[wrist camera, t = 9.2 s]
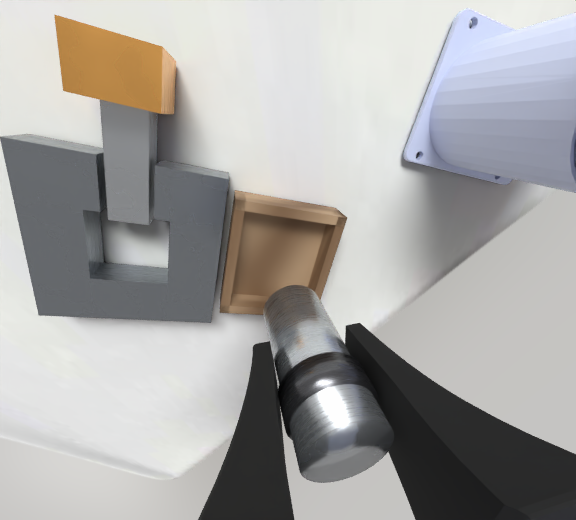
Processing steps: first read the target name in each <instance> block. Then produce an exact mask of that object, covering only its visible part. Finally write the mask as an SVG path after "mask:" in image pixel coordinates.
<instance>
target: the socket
mask: <svg viewBox="0 0 576 520" xmlns="http://www.w3.org/2000/svg"><path fill="white" fill-rule="evenodd" d="M0 140H1V144H2V149H3V153H4V158H5V163H6V167H7V172H8V176H9V181H10V185H11V190H12V195H13V199H14V204H15V208H16V213H17V218H18V222H19V227H20V231H21V236H22V240H23V245H24V250H25V254H26V259H27V263H28V268H29V273H30V277H31V282H32V286H33V291H34V295H35V300H36V305H37V309H38V314H39V315H45V316H68V317H91V318H115V319H138V320H161V321H185V322H208V323H211V318H212V310H213V302H214V294H215V286H216V278H217V270H218V262H219V254H220V246H221V238H222V230H223V222H224V214H225V206H226V198H227V190H228V182H229V173H228V172H223V171H218V170H213V169H208V168H202V167H197V166H192V165H187V164H182V163H177V162H171V161H166V160H162V161H161V162H159V163H158V164H156V165H155V193H154V219H155V220H162V221H170V231H169V259H168V268H159V267H149V266H138V265H127V264H116V263H105V262H104V258H103V246H102V234H101V221H100V212H101V211H102V210H104V209H105V208H106V207H107V196H106V181H105V167H104V152H103V148H99V147H94V146H88V145H83V144H78V143H73V142H68V141H62V140H57V139H52V138H47V137H42V136H36V135H31V134H23V135H12V136H1V137H0Z"/></svg>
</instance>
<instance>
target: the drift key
mask: <svg viewBox="0 0 576 520" xmlns="http://www.w3.org/2000/svg"><path fill="white" fill-rule="evenodd" d="M55 24H56V32H57V41H58V49H59V58H60V66H61V75H62V83H63V91H66V92H71V93H75V94H79V95H83V96H88V97H92V98H96V99H100V108H101V123H102V137H103V152H104V167H105V181H106V196H107V211H108V220H112V221H120V222H127V223H135V224H143V225H149V224H150V223H151V222H152V220H153V219H154V193H155V165H156V164H157V113H160V114H174V102H175V75H176V61H175V60H174V58H173V57H172V56H171V55H170V54H169V53H168V52H167V51H166V50H165V49H164V48H163V47H161V46H158V45H155V44H151V43H148V42H145V41H141V40H138V39H134V38H131V37H128V36H124V35H121V34H118V33H114V32H111V31H108V30H104V29H101V28H98V27H94V26H91V25H88V24H84V23H81V22H77V21H74V20H71V19H67V18H64V17H61V16H57V15H55Z"/></svg>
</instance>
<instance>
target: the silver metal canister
mask: <svg viewBox="0 0 576 520" xmlns="http://www.w3.org/2000/svg"><path fill="white" fill-rule="evenodd" d="M263 315H264V319H265V324H266V328H267V332H268V337H269V341H270V344H271V349H272V354H273V358H274V362H275V367H276V371H277V375H278V380H279V384H280V385H279V388H278V398H279V403H280V407H281V412H282V416H283V421H284V426H285V430H286V433H287V435H288V436H289V437H290V438H291V439H292V440H293V444H294V448H295V453H296V457H297V461H298V465H299V470H300V473H301V475H302V476H303V477H304V478H306V479H307V480H310V481H313V482H321V483H322V482H323V483H325V482H334V481H339V480H343V479H346V478H349V477H352V476H354V475H357V474H359V473H361V472H363V471H365V470H366V469H368V468H370V467H371V466H373V465H374V464H375V463H377V462H378V461H379V460H380V459H382V458H383V457H384V455H386V453H387V452H388V451H389V449H390V448H391V446H392V444H393V441H394V432H393V430H392V428H391V426H390V424H389V422H388V421H387V419H386V417H385V415H384V414H383V412H382V410H381V408H380V406H379V405H378V394H377V392H376V390H375V388H374V387H373V385H372V383H371V382H370V380H369V378H368V376H367V375H366V373H365V371H364V370H363V368H362V366H361V364H360V363H359V361H358V360H357V359H356V358H355V357H353V356H351V355H350V353H349V351H348V349H347V348H346V346H345V344H344V342H343V341H342V339H341V337H340V335H339V333H338V332H337V330H336V328H335V326H334V325H333V323H332V321H331V319H330V317H329V316H328V314H327V312H326V310H325V309H324V307H323V305H322V303H321V301H320V300H319V298H318V296H317V295H316V293H315V292H314V291H313V290H312V289H310V288H308V287H306V286H302V285H290V286H286V287H283V288H281V289H279V290H277V291H276V292H275V293H273V294H272V295H271V296H270V297H269V299H268V300H267V302H266V303H265V306H264V311H263Z"/></svg>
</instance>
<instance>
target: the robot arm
mask: <svg viewBox="0 0 576 520" xmlns="http://www.w3.org/2000/svg"><path fill="white" fill-rule="evenodd" d="M470 20H471V21H472V27H471V29H470V28H469V22H470ZM417 152H419V153H420V154H419V157H418V158H416V154H417ZM403 157H404V159H405V160H406V161H409V162H413V163H417V164H421V165H425V166H429V167H434V168H438V169H442V170H446V171H450V172H454V173H458V174H462V175H466V176H470V177H474V178H478V179H482V180H486V181H490V182H494V183H498V184H502V185H507V184H509V183H510V182H511V181H512V180H513V179H515V180H519V181H524V182H529V183H533V184H538V185H542V186H547V187H551V188H556V189H560V190H565V191H569V192H574V193H576V12H575V13H572V14H568V15H565V16H561V17H558V18H555V19H551V20H548V21H545V22H541V23H538V24H535V25H531V26H528V27H525V28H521V29H518V30H515V29H513V28H511V27H508V26H506V25H504V24H502V23H500V22H498V21H496V20H493V19H491V18H489V17H487V16H485V15H483V14H481V13H479V12H476V11H474V10H472V9H469V8H467V9H464V10H462V11H460V12H459V13H458V14H457V15H456V17H455V19H454V22H453V24H452V27H451V29H450V32H449V35H448V37H447V40H446V42H445V45H444V48H443V50H442V53H441V56H440V58H439V61H438V63H437V66H436V69H435V71H434V74H433V76H432V79H431V82H430V84H429V87H428V90H427V92H426V95H425V97H424V100H423V103H422V105H421V108H420V111H419V113H418V116H417V118H416V121H415V124H414V126H413V129H412V131H411V134H410V137H409V139H408V142H407V145H406V147H405V150H404V153H403ZM495 175H496V176H495ZM345 346H346V348H347V349H348V351H349V353H350V355H351V356H353V357H355V358H356V359H357V360H358V361H359V363H360V364H361V366H362V368H363V370H364V371H365V373H366V375H367V376H368V378H369V380H370V382H371V383H372V385H373V387H374V388H375V390H376V392H377V394H378V405H379V406H380V408H381V410H382V412H383V414H384V415H385V417H386V419H387V421H388V422H389V424H390V426H391V428H392V430H393V432H394V441H393V444H392V446H391V448H390V449H389V451H388V452H389V454H390V457H391V459H392V461H393V464H394V466H395V468H396V471H397V473H398V476H399V478H400V481H401V483H402V486H403V488H404V491H405V493H406V496H407V498H408V501H409V504H410V506H411V509H412V511H413V514H414V517H415V519H416V520H576V454H574V453H571V452H569V451H567V450H564V449H562V448H560V447H558V446H555V445H553V444H551V443H548V442H546V441H544V440H541V439H539V438H537V437H535V436H532V435H530V434H528V433H526V432H524V431H522V430H520V429H518V428H516V427H513V426H511V425H509V424H507V423H505V422H503V421H501V420H499V419H497V418H495V417H494V416H492V415H490V414H488V413H486V412H484V411H482V410H481V409H479V408H477V407H475V406H473V405H472V404H470V403H468V402H466V401H464V400H463V399H461V398H459V397H457V396H456V395H454V394H453V393H451V392H449V391H448V390H446V389H445V388H443V387H442V386H440V385H438V384H437V383H435V382H434V381H432V380H431V379H429V378H428V377H427V376H425V375H423V374H422V373H421V372H420V371H418V370H417V369H415V368H414V367H413V366H411V365H410V364H408V363H407V362H406V361H405V360H403V359H402V358H401V357H400V356H398V355H397V354H396V353H395V352H393V351H392V350H391V349H390V348H388V347H387V346H386V345H385V344H384V343H382V342H381V341H380V340H379V339H378V338H376V337H375V336H374V335H373V334H372V333H371V332H370V331H368V330H367V329H366V328H365V327H364V326H363V325H361V324H360V323H357V324H352V325H347V326H346V338H345ZM198 520H294V515H293V509H292V504H291V497H290V491H289V485H288V479H287V473H286V465H285V455H284V444H283V433H282V422H281V411H280V403H279V398H278V387H277V380H276V373H275V367H274V360H273V354H272V349H271V344H270V341H269V342H264V343H259V344H255V345H254V346H253V358H252V366H251V372H250V377H249V382H248V387H247V391H246V395H245V399H244V403H243V406H242V410H241V413H240V417H239V420H238V423H237V426H236V430H235V432H234V435H233V438H232V441H231V444H230V447H229V449H228V452H227V454H226V457H225V460H224V462H223V465H222V467H221V470H220V472H219V475H218V477H217V479H216V482H215V484H214V487H213V489H212V491H211V493H210V495H209V497H208V500H207V502H206V504H205V506H204V508H203V510H202V513H201V515H200V517H199V519H198Z"/></svg>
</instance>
